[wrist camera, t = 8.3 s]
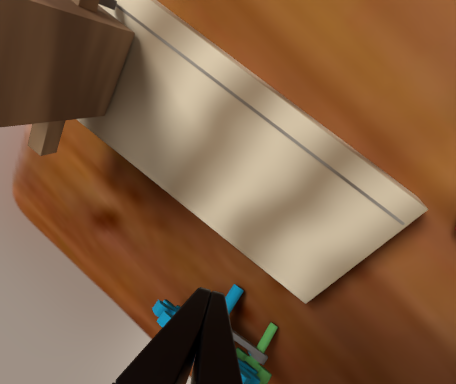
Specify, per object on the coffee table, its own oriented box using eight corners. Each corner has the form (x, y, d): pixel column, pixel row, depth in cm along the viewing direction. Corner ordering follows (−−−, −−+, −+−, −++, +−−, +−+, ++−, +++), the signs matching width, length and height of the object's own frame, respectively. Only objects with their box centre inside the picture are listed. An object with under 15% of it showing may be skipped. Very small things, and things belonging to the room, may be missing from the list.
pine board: (417, 196, 16) (428, 209, 14) (307, 285, 21) (305, 304, 19) (129, -20, 17) (106, -33, 16) (87, 109, 22) (66, 111, 20)
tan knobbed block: (141, 16, 16) (-166, -109, 6) (89, 158, 21) (-120, 217, 11) (90, -23, 16) (-285, -204, 6) (51, 128, 21) (-186, 159, 11)
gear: (148, 302, 25) (143, 340, 16) (186, 250, 27) (202, 257, 17) (238, 365, 26) (284, 437, 17) (269, 312, 28) (326, 349, 19)
